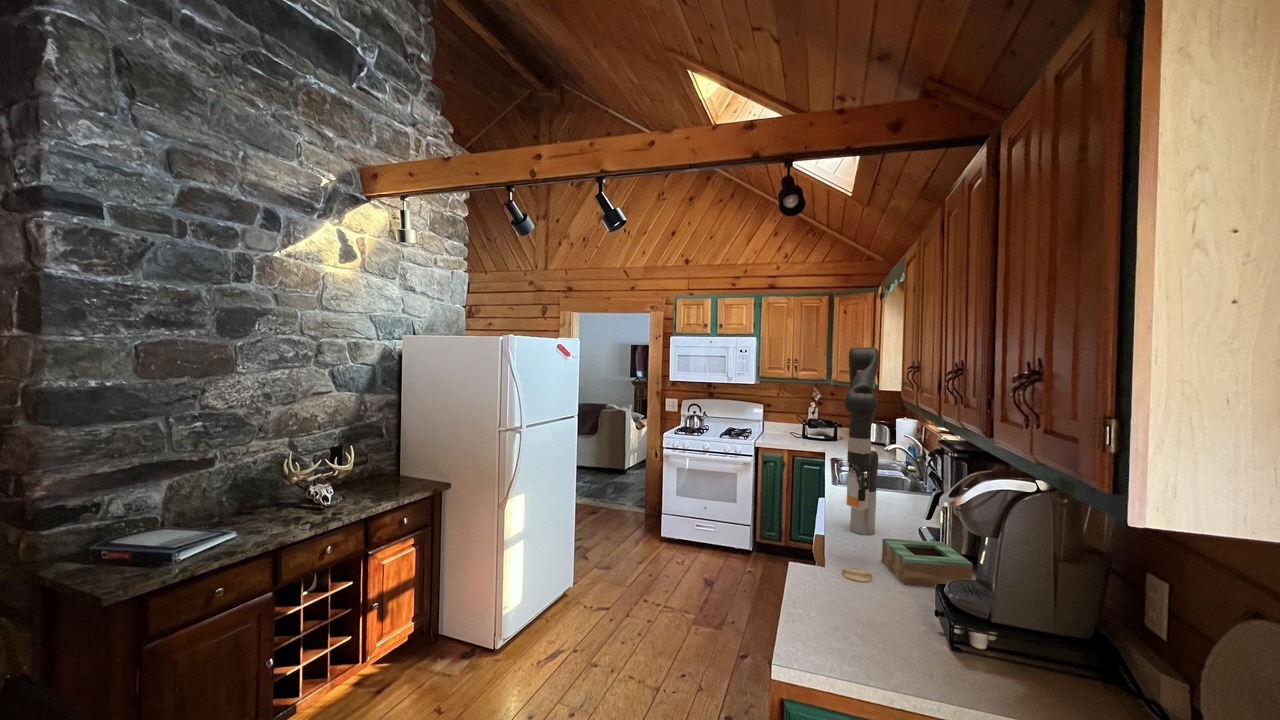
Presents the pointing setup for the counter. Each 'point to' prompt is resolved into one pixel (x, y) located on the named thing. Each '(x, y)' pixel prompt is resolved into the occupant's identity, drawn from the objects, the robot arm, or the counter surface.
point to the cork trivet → (857, 575)
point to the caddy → (924, 562)
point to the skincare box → (855, 493)
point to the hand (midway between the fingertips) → (857, 497)
